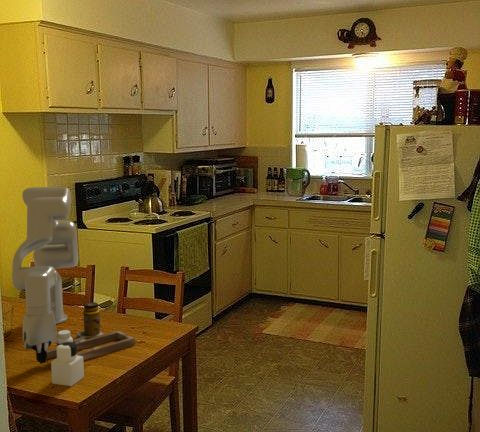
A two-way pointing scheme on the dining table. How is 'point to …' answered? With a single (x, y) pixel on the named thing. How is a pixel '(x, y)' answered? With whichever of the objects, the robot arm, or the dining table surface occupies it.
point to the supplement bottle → (64, 337)
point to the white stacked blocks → (67, 365)
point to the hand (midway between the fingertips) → (41, 361)
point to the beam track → (98, 351)
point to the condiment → (91, 321)
